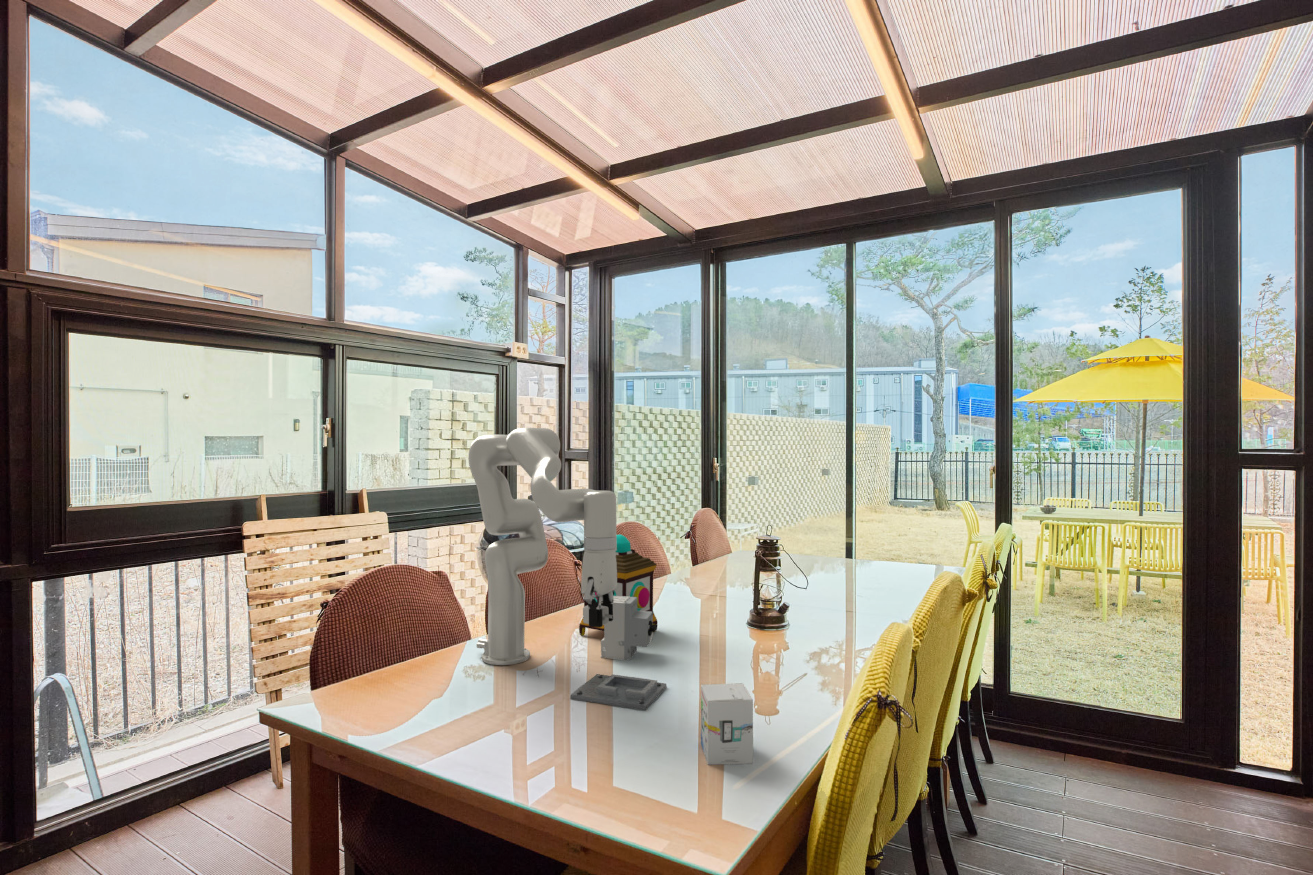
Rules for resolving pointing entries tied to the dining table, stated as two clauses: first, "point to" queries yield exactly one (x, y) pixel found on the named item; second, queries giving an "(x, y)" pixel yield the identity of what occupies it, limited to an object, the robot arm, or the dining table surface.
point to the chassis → (620, 691)
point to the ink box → (726, 724)
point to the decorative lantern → (630, 579)
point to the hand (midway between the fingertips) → (601, 622)
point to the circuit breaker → (626, 629)
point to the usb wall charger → (604, 615)
